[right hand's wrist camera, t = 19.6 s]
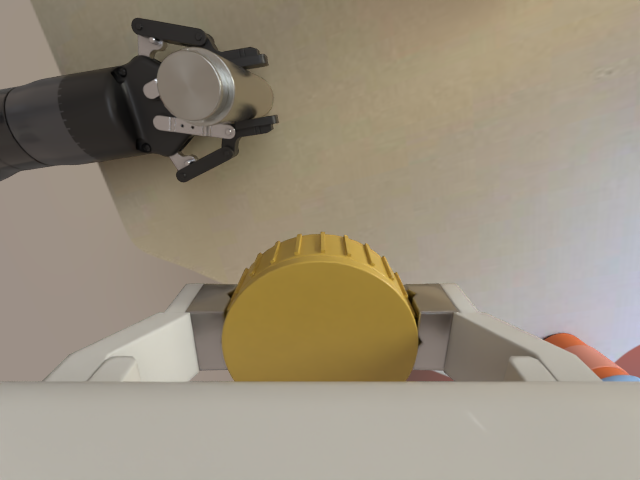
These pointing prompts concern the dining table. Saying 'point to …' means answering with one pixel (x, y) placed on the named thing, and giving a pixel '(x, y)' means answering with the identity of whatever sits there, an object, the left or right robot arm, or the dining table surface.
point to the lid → (320, 315)
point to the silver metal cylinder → (211, 89)
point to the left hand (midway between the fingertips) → (271, 90)
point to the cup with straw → (591, 358)
